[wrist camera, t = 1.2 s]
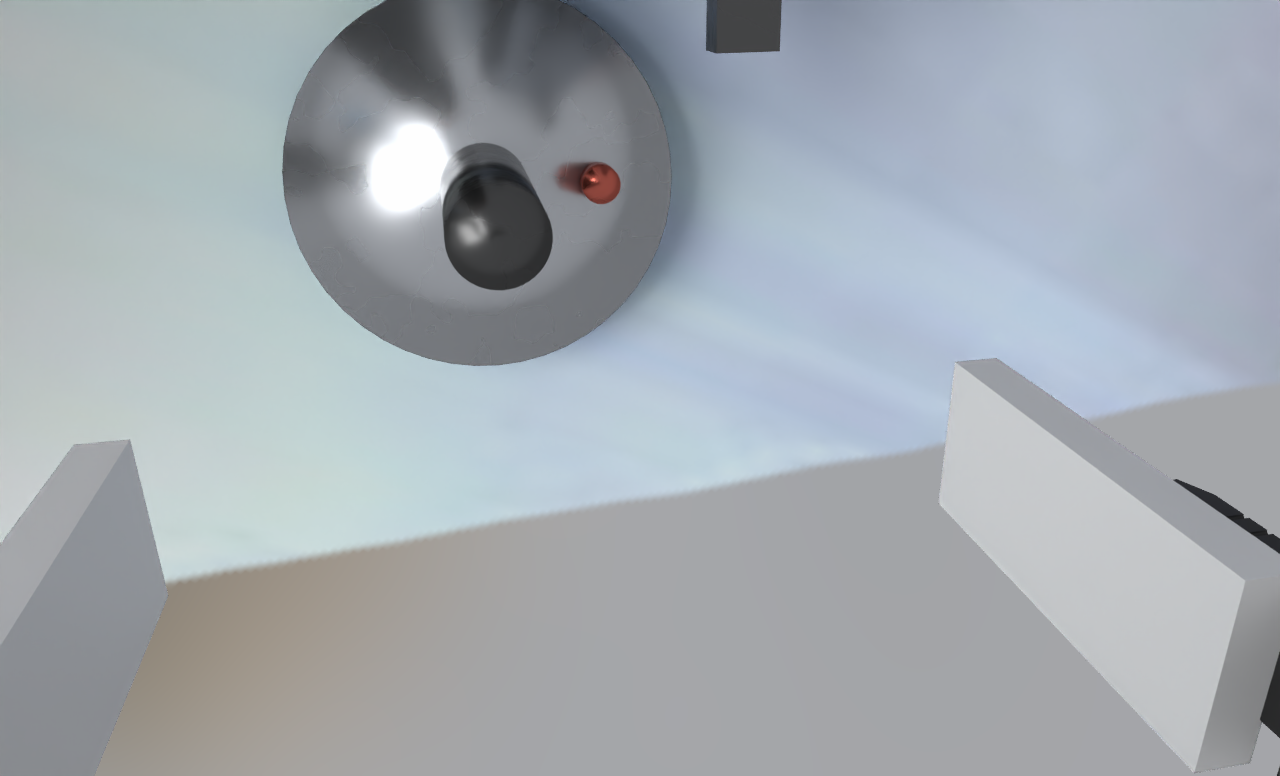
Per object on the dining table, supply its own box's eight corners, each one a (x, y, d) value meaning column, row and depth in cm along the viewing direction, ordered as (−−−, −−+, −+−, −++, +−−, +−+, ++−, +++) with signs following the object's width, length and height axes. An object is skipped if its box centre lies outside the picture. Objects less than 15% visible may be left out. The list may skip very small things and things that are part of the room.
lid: (319, 357, 40) (290, 472, 31) (262, -17, 34) (205, -10, 25) (658, 329, 42) (722, 427, 33) (655, -25, 37) (731, -22, 28)
